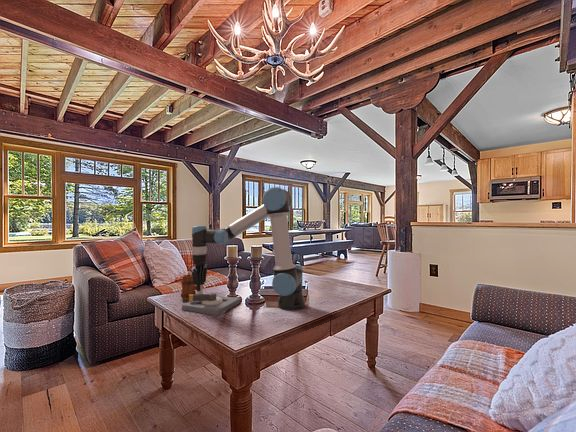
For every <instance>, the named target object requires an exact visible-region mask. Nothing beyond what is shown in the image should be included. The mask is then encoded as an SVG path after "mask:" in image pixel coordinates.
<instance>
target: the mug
mask: <svg viewBox="0 0 576 432" xmlns="http://www.w3.org/2000/svg"><path fill="white" fill-rule="evenodd" d="M181 278H182V279H181V281H180V283H181V293H180V298H181V300H183V301H187V302H190V301H189V295H190V294H197V285H194V282H193V277H192V274H184V275H182V276H181Z"/></svg>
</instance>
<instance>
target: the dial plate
mask: <svg viewBox="0 0 576 432" xmlns="http://www.w3.org/2000/svg"><path fill="white" fill-rule="evenodd" d="M216 297H220V298H222V299H223V303H221V304H220V305H218V306H216V307H215V306H208V305H202V301H187V302H185V303H184V304H182V305H181V311H188V312H193V313H201V314H206V315H213V316H219V315H221V314H223V313H225V312H227V311H228V310H230V309H232V308H234V307H235V306H237V305H239V304H240V303H241V298H239V297H232V296H224V295H217V294H216Z"/></svg>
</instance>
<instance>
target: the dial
mask: <svg viewBox="0 0 576 432" xmlns="http://www.w3.org/2000/svg"><path fill="white" fill-rule="evenodd" d="M216 295H217V293H215V292H212V293H203V294H197V293H196V294H190V295H189V301H188V302H190V301H202V305H208V306H215V307H216V306H218V305H220V304H221V303H223V299H222V298H220V297H216Z"/></svg>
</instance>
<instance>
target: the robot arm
mask: <svg viewBox="0 0 576 432" xmlns="http://www.w3.org/2000/svg"><path fill="white" fill-rule="evenodd" d="M262 195H263V196H262V205H260V206H258V207H257V208H255V209H253V210H251V211H250V212H249V213H247V214H246V215H244V216H242V217H240V218H238V219H237V220H235V221H234V222H233V223H231V224H229V225H227V226H226V227H225V228H220V229H219V228H217V229H208V228H207V226H206V225H194V226H192V227H191V228H192V229H191V242H192V243H191V244H192V245H191V247H192V249H191V250H192V255H191V258H192V259H191V260H192V262H193V265H192V268H190V269H189V271H190V273H191V275H192V277H193V282H194V286H196V285H197V290H196V294H204V293H203V289H204V285H205V283H206V282H207V273H208V268H209V264H207V263H206V261H207V260H208V258H207V255H208V254H207V253H208V251H207V249H208V248H207V247H208V246H207V244H212V245H213V244H217V245H225V244H227V242H230V241H232V240H234V239H235V238H236V237H238V236H239V235H241V234H243V233H244V232H245V231H247V230H250V229H251V228H252V227H255V226H256V225H257V224H259V223H261V222H263V221H264V220H265V219H268V218H269V219H270V228H271V236H272V237H271V238H272V245H273V253H274V262H275V265H274V267H273V268H272V270H273V278H272V281H271V282H272V283H271V285H272V289H273V290H274V292H275V293H277V294H278V295H279V297H278V301H277V307H278V308H279V309H281V310H285V311H299V310H303V309H305V308H306V300H305V297H304V295H303V294H304V293H303V272H304V271H303V266H302V265H301V264H294V263H293V257H292V249H291V240H290V231H289V223H288V222H289V221H288V216H289V214H290V206H291V204H292V196H291V193H290V192H289V191H288V190H286V189H284V188H282V187H277V186H274V187H270V188H268V189H267V190H265V191H264V193H263V194H262Z"/></svg>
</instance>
